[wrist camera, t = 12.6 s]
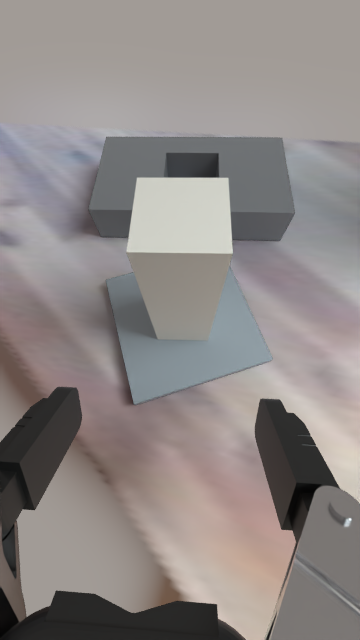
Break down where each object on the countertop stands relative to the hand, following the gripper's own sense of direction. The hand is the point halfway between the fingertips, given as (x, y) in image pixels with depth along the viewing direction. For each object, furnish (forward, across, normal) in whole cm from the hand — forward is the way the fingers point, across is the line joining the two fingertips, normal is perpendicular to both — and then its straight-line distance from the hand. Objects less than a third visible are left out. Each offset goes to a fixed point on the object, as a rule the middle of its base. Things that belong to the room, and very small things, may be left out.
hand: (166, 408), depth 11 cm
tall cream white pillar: (+10, 0, 0) cm, 10 cm away
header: (+21, 0, -10) cm, 23 cm away
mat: (+11, 0, 0) cm, 11 cm away
